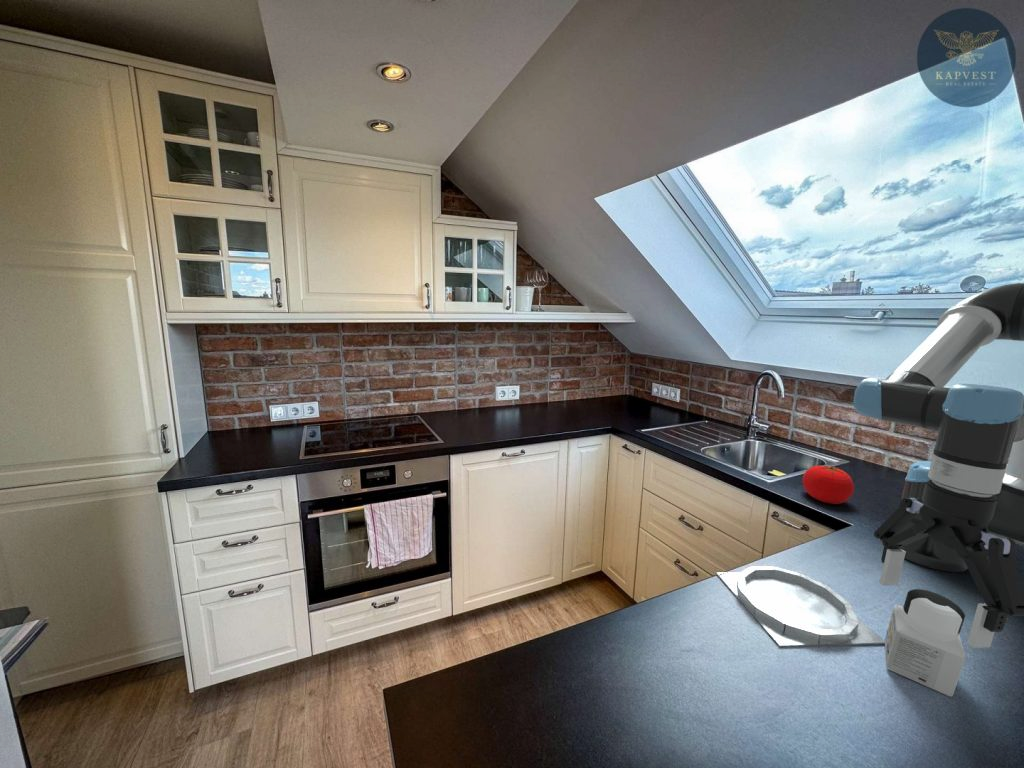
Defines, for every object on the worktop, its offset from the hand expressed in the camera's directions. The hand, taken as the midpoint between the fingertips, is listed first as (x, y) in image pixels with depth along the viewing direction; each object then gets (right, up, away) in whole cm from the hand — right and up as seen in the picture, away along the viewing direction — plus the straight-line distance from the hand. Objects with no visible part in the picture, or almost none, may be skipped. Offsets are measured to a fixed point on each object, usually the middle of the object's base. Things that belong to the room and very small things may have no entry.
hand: (929, 612), depth 67 cm
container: (0, -11, +2) cm, 11 cm away
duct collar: (-11, -7, +16) cm, 21 cm away
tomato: (+32, 0, +65) cm, 72 cm away
